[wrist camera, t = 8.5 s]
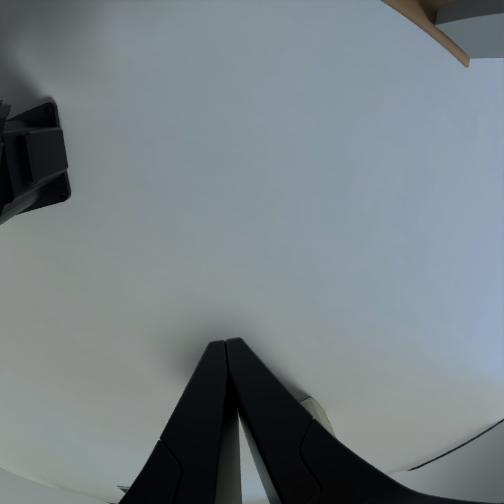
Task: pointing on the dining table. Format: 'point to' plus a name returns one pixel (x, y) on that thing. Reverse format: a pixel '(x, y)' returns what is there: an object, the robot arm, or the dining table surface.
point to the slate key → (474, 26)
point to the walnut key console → (428, 22)
